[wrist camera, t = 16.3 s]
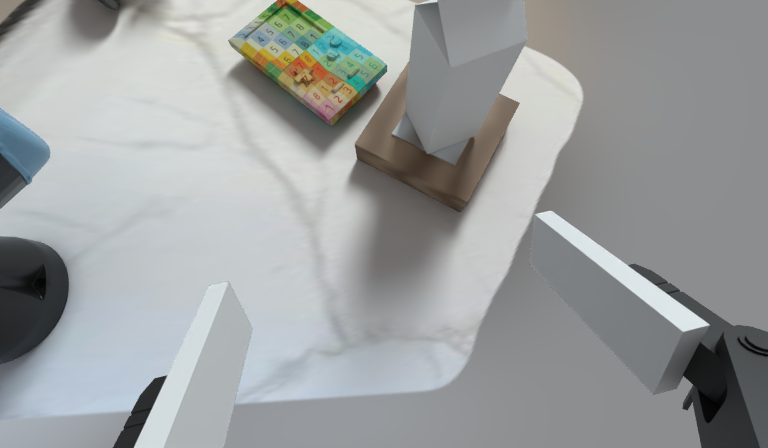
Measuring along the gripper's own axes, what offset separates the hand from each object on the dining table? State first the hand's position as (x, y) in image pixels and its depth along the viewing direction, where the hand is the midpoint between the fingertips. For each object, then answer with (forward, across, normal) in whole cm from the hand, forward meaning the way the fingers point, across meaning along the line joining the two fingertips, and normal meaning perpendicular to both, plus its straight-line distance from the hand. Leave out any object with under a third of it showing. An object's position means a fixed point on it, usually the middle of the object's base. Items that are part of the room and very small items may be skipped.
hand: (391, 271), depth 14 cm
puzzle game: (+44, -3, +5) cm, 45 cm away
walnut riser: (+33, +12, -5) cm, 36 cm away
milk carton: (+30, +12, -2) cm, 32 cm away
